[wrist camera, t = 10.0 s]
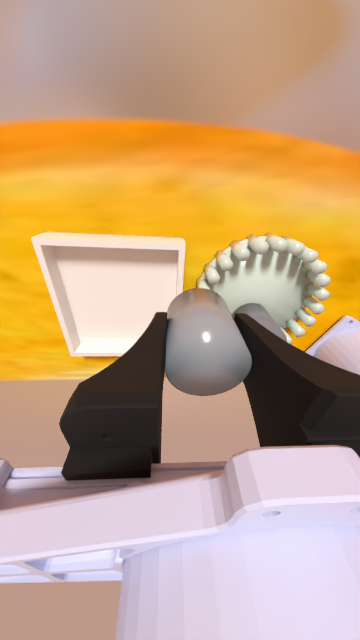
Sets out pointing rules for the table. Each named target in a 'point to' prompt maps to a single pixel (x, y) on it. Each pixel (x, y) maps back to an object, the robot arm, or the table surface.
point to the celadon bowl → (270, 279)
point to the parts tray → (109, 286)
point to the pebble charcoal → (261, 318)
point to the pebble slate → (204, 344)
